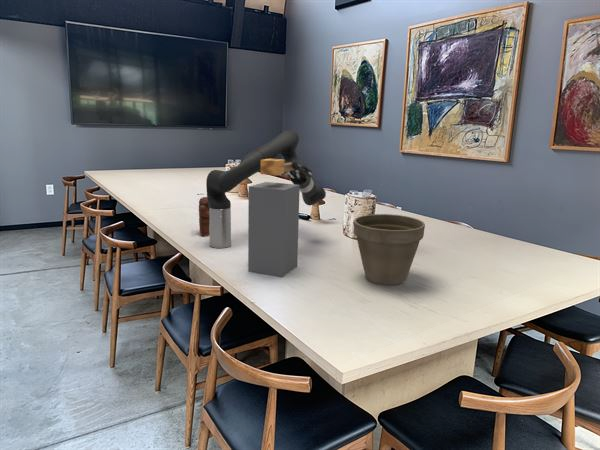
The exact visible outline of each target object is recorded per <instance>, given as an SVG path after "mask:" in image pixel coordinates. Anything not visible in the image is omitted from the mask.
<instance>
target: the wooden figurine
mask: <svg viewBox="0 0 600 450" xmlns="http://www.w3.org/2000/svg"><path fill="white" fill-rule="evenodd" d="M198 218H199V219H198V222H199V223H198V224H199V232H200V236H202V235H203V236H202V237H208V236H207V235H209V224H210V216H209V202H208V200H207V196H203V197H201V198H200V199H199V200H198Z"/></svg>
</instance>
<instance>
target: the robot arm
mask: <svg viewBox="0 0 600 450" xmlns="http://www.w3.org/2000/svg"><path fill="white" fill-rule="evenodd" d="M299 141H300V137H299V134H298V132H297V131H294V130H291V129H289V130H284V131H283V132H280V133H279V134H278V135H277V136H276V137H274V138H273V139H271V140H270V141H268V142H266V143H265V144H262V145H261V146H260V147H258V148H256V149H254V150H252V151H250V152H249V153H247V154H246V155H244V156H243V158H242V160H241V161H240V162H239V164H238V165H236V166H234V167H233V168H230V169H228V170H220V169H212V170H211V171H210V172H209V173H208V174H207V177H206V181H205V184H206V197H207V200H208V202H209V216H210V224H209V236H208V237H209V246H210V247H211V248H214V249H215V248H216V249H225V247H226V248H230V247H231V246H232V217H231V216H232V209H231V207H232V204H231V200H230V199H229V198H228V197H227V194H226V193H229V192H230V191H233V189H235V188H236V187H238V186H239V185H240V184H241V183H242V182H244V181H245V180H247V179H249V178H250V177H252V176H254V175H255V174H256V173H259V172H261V160H264V159H276V157H277V156H278V155H279V154H280V155H281V157H283V160H284V163H292V167H293V168H294V170H292V171H287V172H284V174H280V175H281V176H284V175H287V176H288V177H289V178H290V181H291V184H295V185H300V193H301V197H302V200H303V203H304V204H305V205H307V206H313V205H315V204H316V203H317V204H318V202H321V201H323V200H324V199H325V198H326V196H327V195H326V193H327V192H326V191H325V189H324V187H323V186H321V184H320V183H318V182H317V181H316V178H314V176H313V171H312V170H310V168H309V166H308V165H306V164H305V163H304V162H303V161H301V160H300V159H299V157H298V156H297V147H298V145H299Z"/></svg>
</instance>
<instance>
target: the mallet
mask: <svg viewBox="0 0 600 450" xmlns="http://www.w3.org/2000/svg"><path fill="white" fill-rule="evenodd" d="M284 161H285V159H282V158H281V159H279V158H275V159H264V160H261V170H260V175H265V176H266V175H267V176H279V175H281V174H284V172H287V171H292V170H294V168H293V167H292V163H284ZM284 175H285V174H284Z"/></svg>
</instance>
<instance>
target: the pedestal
mask: <svg viewBox="0 0 600 450" xmlns="http://www.w3.org/2000/svg"><path fill="white" fill-rule="evenodd" d="M300 193H301V191H300V185H295V184H293V183H283V182H270V181H264V182H260V183H257V184H253V185H250V186H248V209H247V210H248V217H247V218H248V220H247V221H248V227H247V228H248V229H247V230H248V231H247V232H248V236H247V237H248V238H247V239H248V241H247V242H248V245H247V247H248V251H247V256H248V260H247V261H248V262H247V268H248V269H247V270H248V272H250V273H255V274H260V275H267V276H272V277H278V278H283V277H285V276H286V275H288V274H289V273H290V272H292V271H293V270H294V269H296V268H297V267H298V259H299V258H298V255H299V253H298V251H299V226H300V225H299V223H300V222H299V221H300V220H299V219H300V218H299V217H300Z"/></svg>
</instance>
